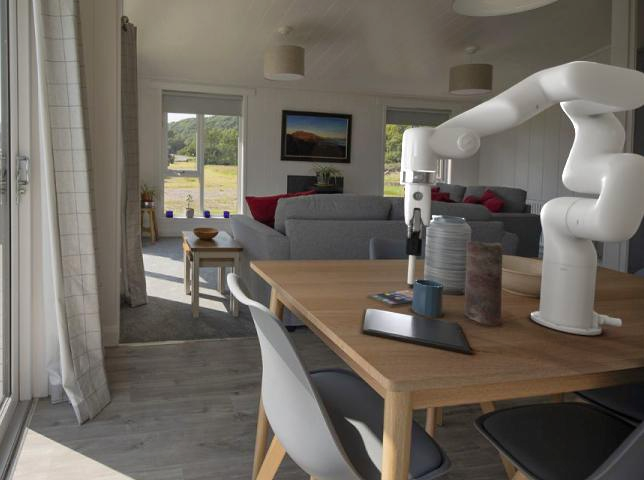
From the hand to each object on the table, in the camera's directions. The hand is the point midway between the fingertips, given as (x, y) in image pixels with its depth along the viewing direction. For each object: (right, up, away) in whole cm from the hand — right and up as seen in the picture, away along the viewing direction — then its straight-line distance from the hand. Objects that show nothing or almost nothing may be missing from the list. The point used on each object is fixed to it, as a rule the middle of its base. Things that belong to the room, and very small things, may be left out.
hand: (413, 253), depth 95 cm
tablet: (-3, -17, -5) cm, 18 cm away
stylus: (0, -9, 0) cm, 9 cm away
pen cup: (+7, -17, +7) cm, 19 cm away
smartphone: (+6, -16, +17) cm, 24 cm away
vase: (+25, -16, +27) cm, 41 cm away
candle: (+19, -17, +3) cm, 25 cm away
